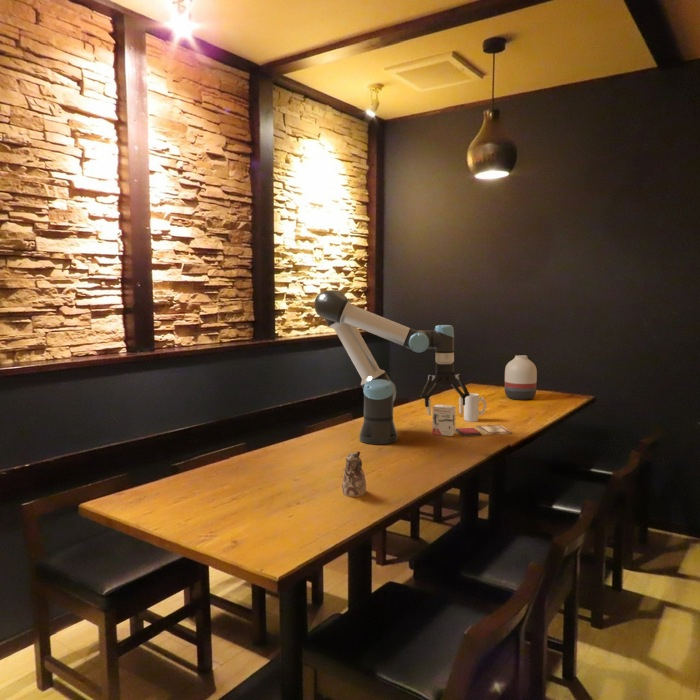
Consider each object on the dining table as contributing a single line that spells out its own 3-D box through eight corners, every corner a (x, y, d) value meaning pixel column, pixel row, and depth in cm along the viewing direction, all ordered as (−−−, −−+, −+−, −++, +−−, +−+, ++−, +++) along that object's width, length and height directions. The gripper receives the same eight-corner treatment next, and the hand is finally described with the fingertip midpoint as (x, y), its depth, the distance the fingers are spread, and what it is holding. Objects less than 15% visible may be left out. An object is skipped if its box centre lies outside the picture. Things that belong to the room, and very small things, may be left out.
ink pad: (462, 436, 243) (462, 433, 243) (455, 430, 253) (455, 428, 253) (481, 435, 244) (481, 432, 244) (473, 430, 254) (473, 427, 254)
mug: (463, 421, 271) (463, 395, 270) (463, 418, 278) (464, 393, 277) (485, 422, 269) (486, 396, 268) (486, 419, 275) (486, 393, 274)
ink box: (431, 434, 247) (432, 406, 246) (435, 431, 251) (436, 404, 250) (451, 436, 243) (452, 407, 242) (455, 434, 247) (456, 405, 246)
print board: (486, 434, 246) (486, 432, 246) (475, 427, 258) (475, 425, 258) (511, 433, 247) (511, 431, 247) (500, 426, 260) (500, 424, 260)
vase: (539, 397, 333) (540, 355, 331) (531, 402, 319) (532, 358, 316) (509, 394, 342) (510, 353, 340) (500, 399, 328) (501, 356, 325)
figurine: (336, 492, 175) (336, 452, 174) (354, 487, 180) (354, 448, 179) (354, 498, 170) (354, 457, 169) (371, 492, 175) (371, 452, 174)
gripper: (417, 365, 239) (417, 417, 241) (477, 362, 242) (477, 414, 244) (412, 362, 246) (413, 413, 248) (471, 360, 249) (471, 410, 251)
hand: (445, 414), depth 246 cm, fingers open, 13 cm apart
